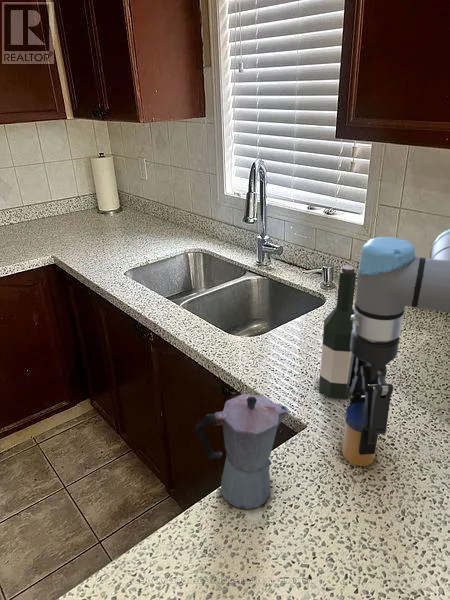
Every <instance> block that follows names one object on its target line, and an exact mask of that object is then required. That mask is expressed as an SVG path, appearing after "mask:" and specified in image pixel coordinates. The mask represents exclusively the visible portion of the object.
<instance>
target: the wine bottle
mask: <svg viewBox="0 0 450 600" xmlns="http://www.w3.org/2000/svg"><path fill="white" fill-rule="evenodd" d="M356 281H357V269H355V266H353V265H351V264H345V265H342V266H341V268H340V269H339V277H338V286H337V295H336V297H337V298H336V305H335V307H333V309H332V311H331V312H330V313H329V314H328V315H327V316H326V317H325V319H324V320H323V328H322V329H323V331H322V340H321V341H322V342H321V352H320V353H321V354H320V367H319V378H318V379H319V381H318V390H319V392H320V393H322V394H323V395H325V396H326V397H328V398H331V399H339V400H345V399H347V398H349V397H351V396H350V389H351V387H348V386H347V381H348V374H349V368H350V362H351V355H352V352H351V350H350V341H351V332H352V330H353V321H352V320H351V315H354V307H353V306H354V297H355V291H356ZM352 381H353V380H352Z"/></svg>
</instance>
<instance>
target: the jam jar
mask: <svg viewBox="0 0 450 600" xmlns="http://www.w3.org/2000/svg"><path fill="white" fill-rule="evenodd" d="M344 423H345V424H344V430H343V431H344V432H343V440H342V449H341V450H342V451H341V454H342V456H343V458H344V459H345V460H346V461H347V462H348V463H349V464H352V465H354V466H358V467H366V466H370V465H371V464H373V463H374V461H375V459H376V454H377V453H376V452H377V449H376V450H375V454H364V455H360V454H359V445H360V438H361V432H358V431H355V430H353V429H352V428H350V427H349V426H348V425H347V423H346V421H345V422H344ZM379 435H380V434H378V436H379ZM378 441H379V437H378V438H377V442H378ZM377 446H378V443H377V444H376V448H377Z"/></svg>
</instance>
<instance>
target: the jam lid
mask: <svg viewBox="0 0 450 600" xmlns="http://www.w3.org/2000/svg"><path fill="white" fill-rule="evenodd" d="M344 420H345V422H346V423H347V425H348V426H349V427H350V428H352V429H353V430H355V431H358V432H361V431H362V429H361V425H362V424H365V402H356V403H352V404H350V403H349V404H348V405H347V406H346V408H345V412H344Z"/></svg>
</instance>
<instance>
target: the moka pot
mask: <svg viewBox="0 0 450 600" xmlns="http://www.w3.org/2000/svg"><path fill="white" fill-rule="evenodd" d="M290 412H291V411H290V410H289V408H288V407H287V406H286V405H283V404H280V403H274V402H272V400H270V398H268V397H267V396H265V395H259V394H251V393H241V394H239V395H237V396H235V397H233V398H231V399H230V398H229V399H228V400H226V401H225V403H224V407H223V410H222V411H221V410H220V411H216V412H214V413H207V414H206V415H205V416H204V417H203V418H202V420H200V421H199V422H198V423H197V424H196V425H195V427H194V430H195V435H196V436H197V438H198V439H199V442H200V443H201V446H202V448H203V449H204V452H205V454H206V455H207V458H208V459H210V460H215V459H221V458H222V456H223V452H221V451H216V452H214V451H213V449H212V447H211V444H210V441H209V439H208V436H207V434H206V431H205V429H204V428H205V427H206V426H208V425H213V426H222V434H223V441H224V449H225V456H226V457H225V462H224V466H223V472H222V474H221V475H222V476H221V480H220V481H221V482H220V494H221V495H222V497H223V498H224V500H226V501H227V502H228V503H229V505H231V506H232V507H233V506H234V507H236V508H239V509H244V510H250V509H255V508H259V507H261V506H262V505H264V504H265V503H266V501H267V500H268V499H269V497H270V496H271V477H270V466H271V465H272V460H271V459H270V457H271V454H272V451H273V446H274V443H275V439H276V436H277V430H278V427H279V426H280V424H281V423H282V421H283V419H284V418H285V416H286V415H287V414H288V413H290Z"/></svg>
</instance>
